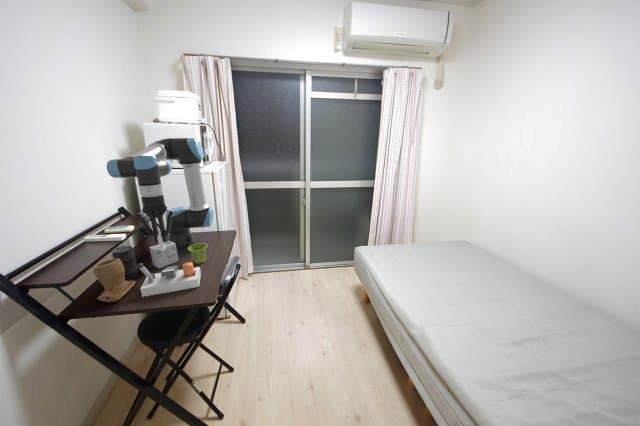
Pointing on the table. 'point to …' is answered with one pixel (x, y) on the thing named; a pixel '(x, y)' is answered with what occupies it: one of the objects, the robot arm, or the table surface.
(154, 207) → the robot arm
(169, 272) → the plate
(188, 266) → the orange button
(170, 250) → the light bulb box
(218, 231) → the table surface
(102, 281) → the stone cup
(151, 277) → the toggle lever
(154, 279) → the console
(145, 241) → the table surface
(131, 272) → the camera lens
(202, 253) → the plant pot
